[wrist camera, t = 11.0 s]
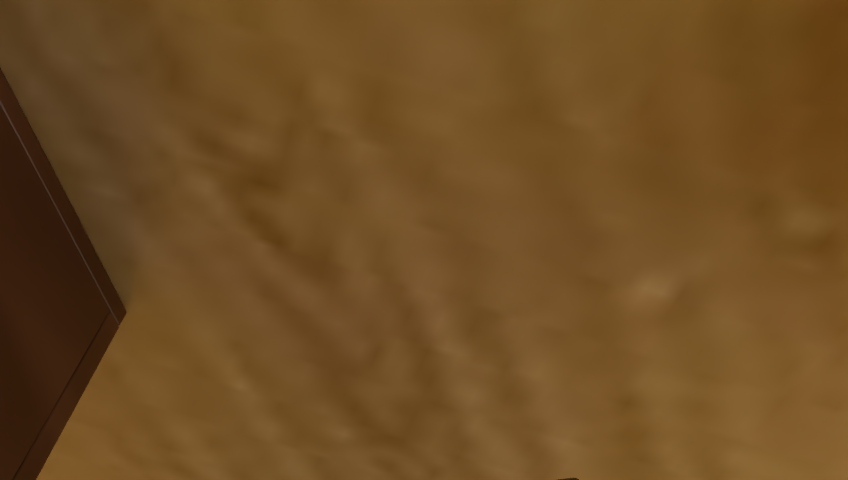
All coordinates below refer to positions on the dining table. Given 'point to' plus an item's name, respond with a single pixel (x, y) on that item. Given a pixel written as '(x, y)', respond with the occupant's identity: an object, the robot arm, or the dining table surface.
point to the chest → (43, 300)
